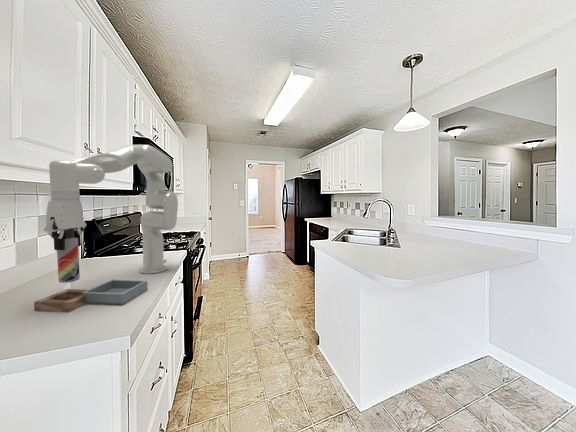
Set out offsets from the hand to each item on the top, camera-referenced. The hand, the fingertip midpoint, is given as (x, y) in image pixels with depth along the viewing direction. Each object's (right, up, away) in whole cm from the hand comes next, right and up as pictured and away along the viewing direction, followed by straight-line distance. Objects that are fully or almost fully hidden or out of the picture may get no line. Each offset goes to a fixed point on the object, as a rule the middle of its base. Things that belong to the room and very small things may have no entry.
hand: (68, 247), depth 87 cm
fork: (-19, -19, +23) cm, 35 cm away
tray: (+12, -20, +8) cm, 25 cm away
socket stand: (-1, -20, +1) cm, 20 cm away
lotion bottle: (0, -12, +1) cm, 12 cm away
